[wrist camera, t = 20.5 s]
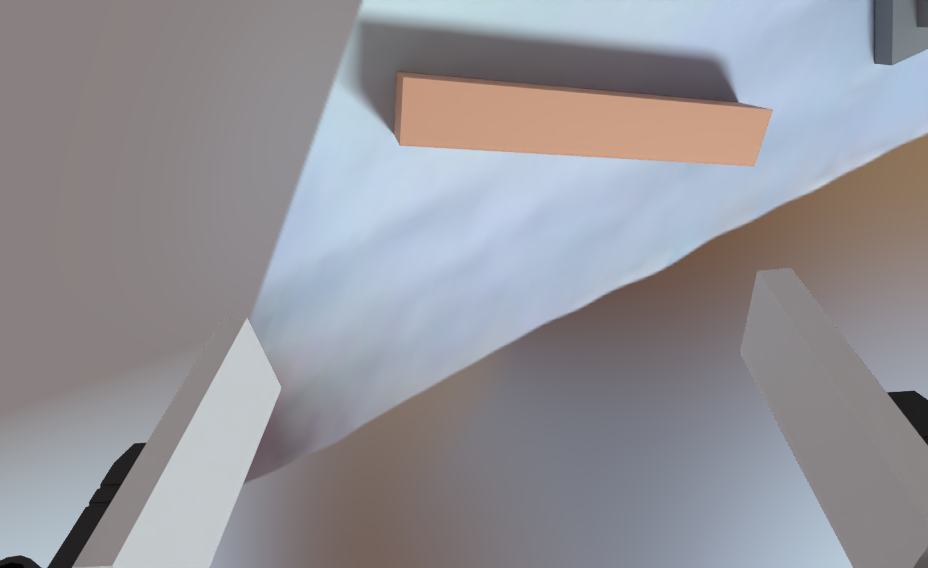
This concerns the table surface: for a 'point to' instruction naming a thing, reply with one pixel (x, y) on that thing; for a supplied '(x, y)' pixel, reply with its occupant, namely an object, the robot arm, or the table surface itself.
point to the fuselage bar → (574, 121)
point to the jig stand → (900, 29)
